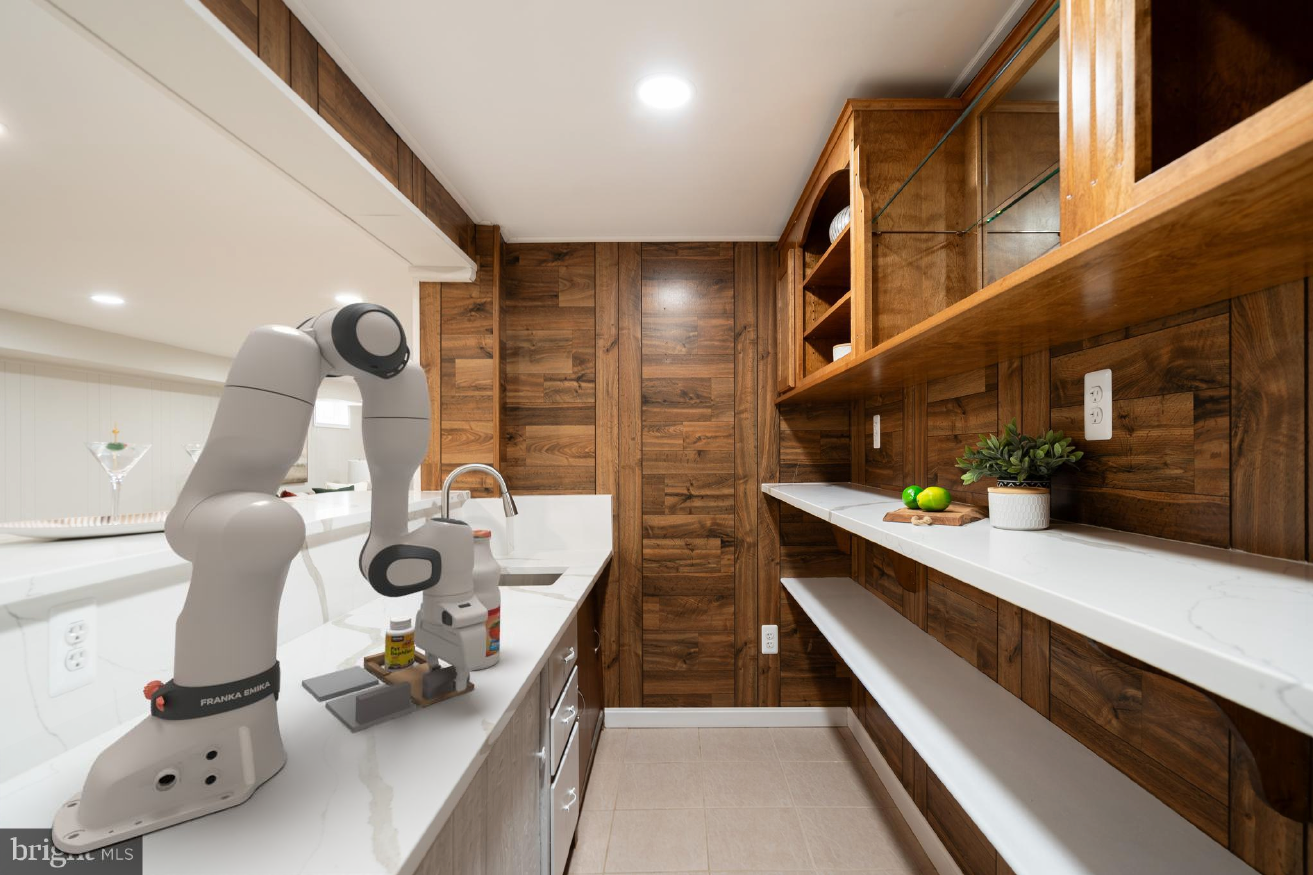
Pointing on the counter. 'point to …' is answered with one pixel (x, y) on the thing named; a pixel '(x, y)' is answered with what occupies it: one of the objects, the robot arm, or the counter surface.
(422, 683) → the wooden tray
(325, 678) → the broken grey strip
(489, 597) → the fruit juice
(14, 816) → the counter surface
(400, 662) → the supplement bottle
